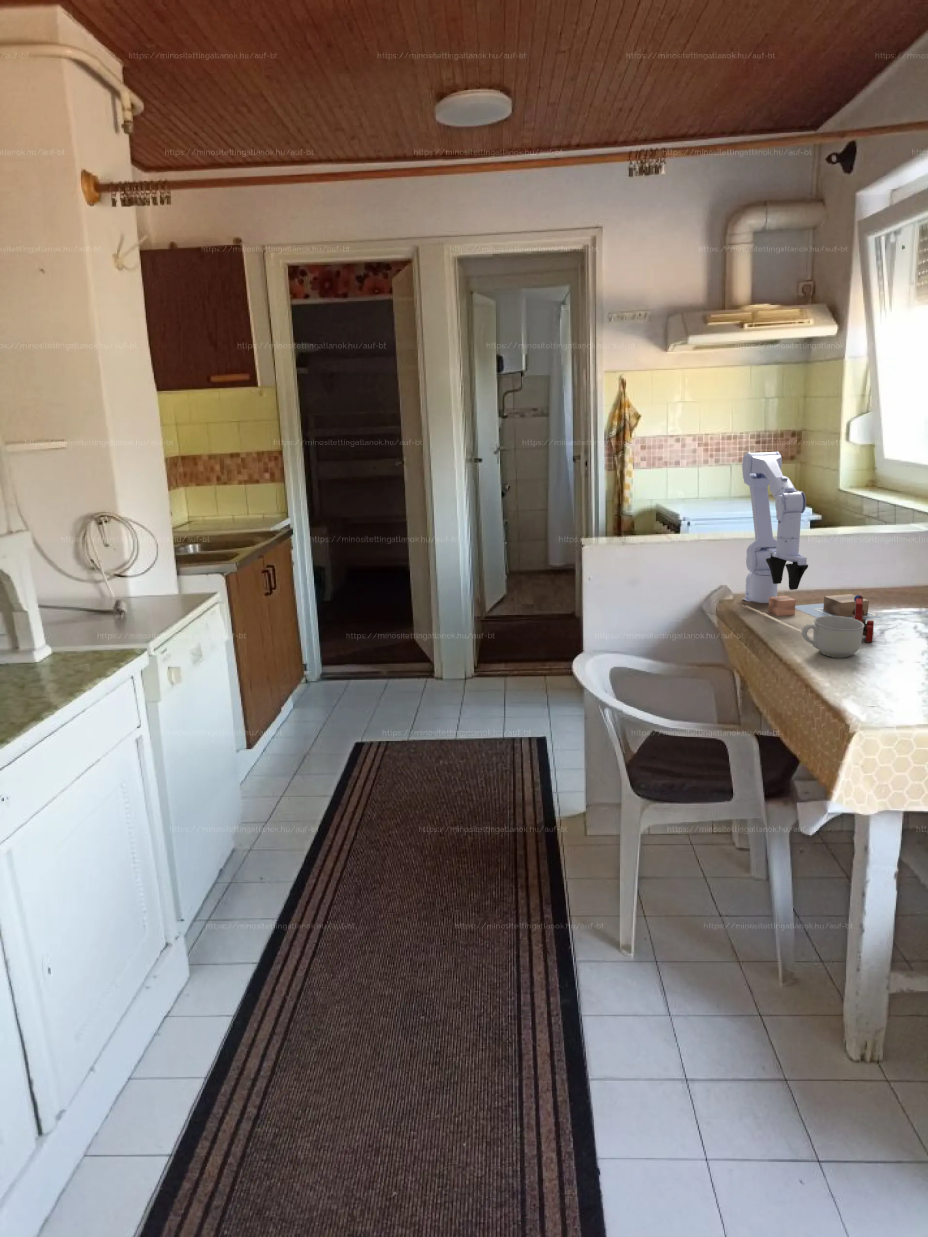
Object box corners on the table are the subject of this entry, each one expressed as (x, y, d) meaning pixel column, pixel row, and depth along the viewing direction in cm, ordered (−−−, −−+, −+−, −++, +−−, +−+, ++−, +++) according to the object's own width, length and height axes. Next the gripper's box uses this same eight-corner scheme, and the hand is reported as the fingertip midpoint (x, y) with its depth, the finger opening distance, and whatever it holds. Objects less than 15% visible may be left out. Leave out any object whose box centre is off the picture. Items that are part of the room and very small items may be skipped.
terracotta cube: (768, 614, 234) (769, 597, 233) (784, 613, 235) (785, 595, 234) (777, 618, 229) (778, 601, 228) (794, 617, 230) (795, 599, 229)
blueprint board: (789, 608, 239) (789, 605, 239) (840, 604, 241) (840, 601, 241) (826, 624, 222) (826, 621, 222) (881, 619, 224) (881, 616, 224)
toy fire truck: (872, 632, 213) (876, 592, 211) (872, 646, 202) (876, 604, 200) (842, 630, 216) (845, 591, 214) (840, 643, 205) (844, 602, 203)
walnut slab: (823, 610, 233) (824, 596, 232) (849, 608, 234) (850, 594, 233) (840, 617, 225) (841, 602, 224) (867, 614, 227) (868, 600, 226)
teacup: (852, 647, 202) (855, 615, 200) (868, 660, 192) (871, 627, 190) (792, 647, 204) (794, 615, 201) (805, 661, 193) (807, 627, 191)
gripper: (759, 534, 232) (757, 582, 236) (791, 542, 218) (787, 593, 222) (782, 532, 233) (779, 580, 237) (815, 540, 220) (811, 591, 223)
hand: (785, 586), depth 230 cm, fingers open, 7 cm apart
